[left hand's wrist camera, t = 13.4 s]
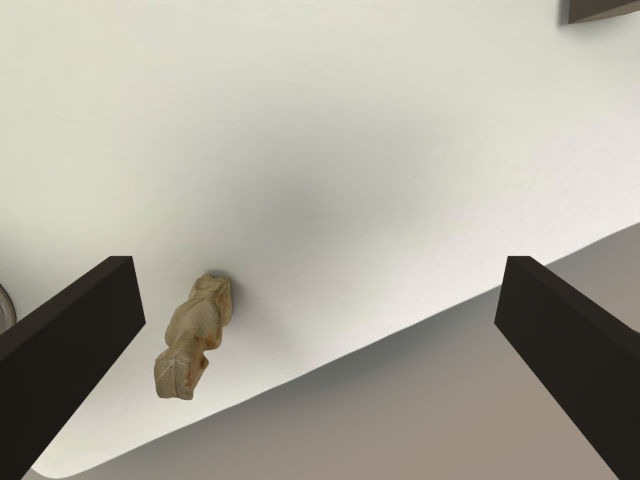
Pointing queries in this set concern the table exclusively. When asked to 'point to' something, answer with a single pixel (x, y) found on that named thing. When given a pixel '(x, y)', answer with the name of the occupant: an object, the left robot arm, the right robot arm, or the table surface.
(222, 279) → the sculpture
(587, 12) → the bar
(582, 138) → the table surface
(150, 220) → the table surface
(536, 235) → the table surface
